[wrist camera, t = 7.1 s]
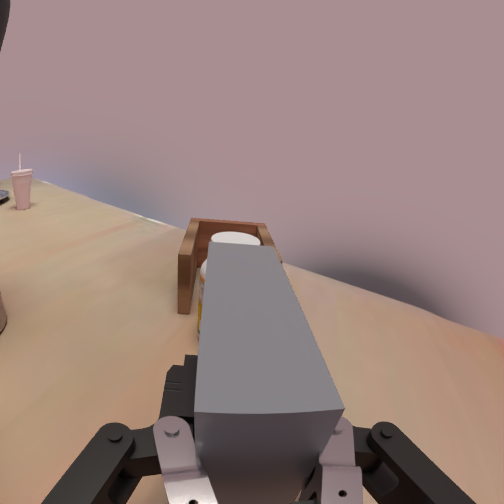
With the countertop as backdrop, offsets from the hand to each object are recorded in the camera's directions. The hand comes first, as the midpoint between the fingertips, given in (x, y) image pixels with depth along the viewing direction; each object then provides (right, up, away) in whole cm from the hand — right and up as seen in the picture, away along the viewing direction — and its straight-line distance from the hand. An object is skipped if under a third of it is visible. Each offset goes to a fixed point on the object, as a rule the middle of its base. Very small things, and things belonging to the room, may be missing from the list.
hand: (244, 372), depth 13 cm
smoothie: (-57, +16, +48) cm, 77 cm away
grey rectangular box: (-1, -6, +3) cm, 7 cm away
